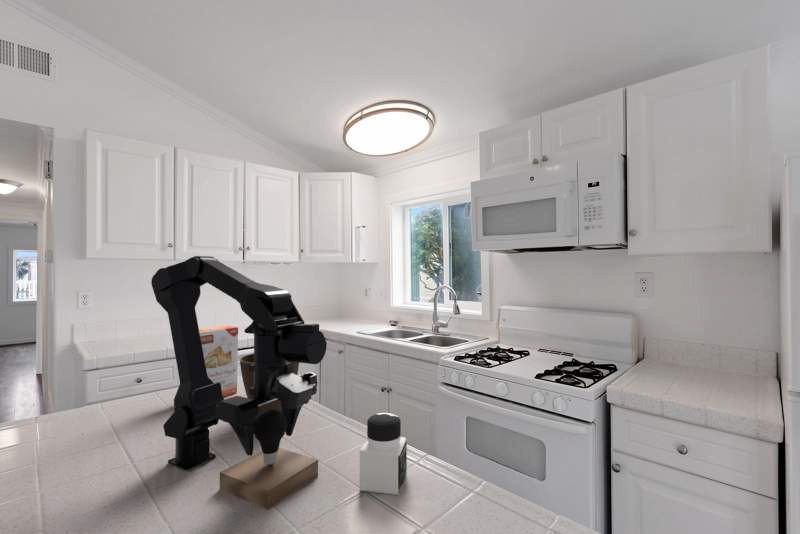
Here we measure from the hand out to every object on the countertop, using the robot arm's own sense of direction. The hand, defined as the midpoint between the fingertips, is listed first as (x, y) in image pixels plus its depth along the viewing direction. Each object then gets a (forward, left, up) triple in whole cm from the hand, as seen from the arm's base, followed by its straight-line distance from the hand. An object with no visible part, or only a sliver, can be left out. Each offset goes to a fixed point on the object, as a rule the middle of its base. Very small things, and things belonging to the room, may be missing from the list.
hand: (270, 444), depth 72 cm
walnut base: (0, 0, -7) cm, 7 cm away
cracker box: (-52, +25, -7) cm, 58 cm away
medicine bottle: (+18, +10, -7) cm, 22 cm away
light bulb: (0, 0, -4) cm, 4 cm away
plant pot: (-24, +22, -7) cm, 33 cm away
